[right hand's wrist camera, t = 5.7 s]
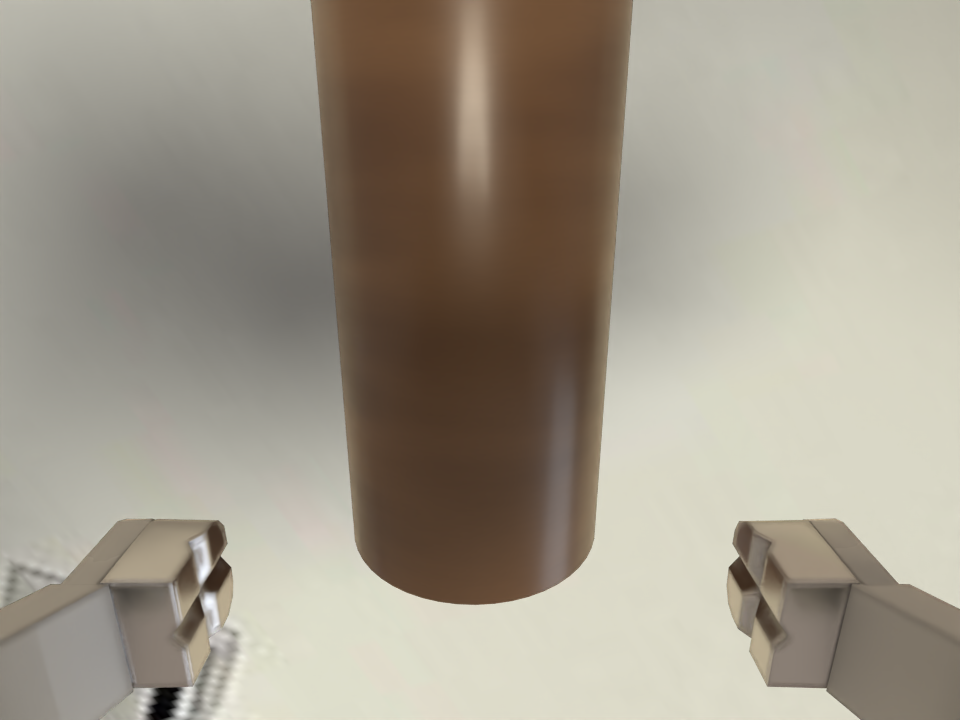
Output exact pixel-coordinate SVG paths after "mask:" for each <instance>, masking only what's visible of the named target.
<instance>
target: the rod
mask: <svg viewBox="0 0 960 720" xmlns="http://www.w3.org/2000/svg"><path fill="white" fill-rule="evenodd" d="M632 6H633V0H311V9H312V21H313V34H314V46H315V58H316V70H317V82H318V95H319V107H320V119H321V131H322V143H323V156H324V168H325V180H326V192H327V204H328V217H329V229H330V241H331V253H332V265H333V278H334V290H335V302H336V314H337V326H338V339H339V351H340V363H341V375H342V387H343V400H344V412H345V424H346V436H347V448H348V461H349V473H350V485H351V497H352V509H353V522H354V534H355V542H356V545H357V549H358V551H359V553H360V555H361V557H362V559H363V560H364V562H365V563H366V564H367V565H368V567H369V568H370V569H371V570H372V571H373V572H374V573H375V574H377V575H378V576H379V577H380V578H381V579H383V580H384V581H386V582H387V583H389V584H391V585H392V586H394V587H396V588H398V589H400V590H402V591H404V592H407V593H409V594H412V595H415V596H418V597H421V598H425V599H429V600H434V601H438V602H445V603H452V604H468V605H480V604H495V603H502V602H509V601H514V600H518V599H522V598H526V597H529V596H532V595H535V594H538V593H540V592H543V591H545V590H547V589H549V588H551V587H553V586H555V585H557V584H559V583H560V582H562V581H563V580H565V579H566V578H568V577H569V576H570V575H571V574H572V573H574V572H575V571H576V570H577V569H578V568H579V567H580V566H581V564H582V563H583V562H584V560H585V559H586V558H587V556H588V554H589V552H590V550H591V548H592V544H593V541H594V534H595V520H596V506H597V492H598V478H599V464H600V450H601V437H602V423H603V409H604V395H605V381H606V367H607V353H608V339H609V326H610V312H611V298H612V284H613V270H614V256H615V242H616V228H617V215H618V201H619V187H620V173H621V159H622V145H623V131H624V117H625V104H626V90H627V76H628V62H629V48H630V34H631V20H632Z"/></svg>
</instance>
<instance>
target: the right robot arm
mask: <svg viewBox="0 0 960 720" xmlns="http://www.w3.org/2000/svg"><path fill="white" fill-rule="evenodd" d="M226 545H227V539H226V534H225V529H224V525H223V524H222V523H221V522H220V521H219V520H179V519H156V520H155V519H124V520H121V521H118V522H117V523H116V524H115V525H114V526H113V527H112V528H111V529H110V530H109V532H108V533H107V534H106V535H105V536H104V537H103V538H102V539H101V540H100V542H99V543H98V544H97V545H96V546H95V547H94V548H93V549H92V550H91V552H90V553H89V554H88V555H87V556H86V557H85V558H84V559H83V560H82V562H81V563H80V564H79V565H78V566H77V567H76V568H75V569H74V570H73V572H72V573H71V574H70V575H69V576H68V577H67V578H66V579H65V580H64V582H63V583H62V584H50V585H48V586H46V587H44V588H42V589H40V590H38V591H36V592H34V593H32V594H30V595H28V596H26V597H24V598H22V599H20V600H18V601H16V602H14V603H12V604H10V605H8V606H6V607H4V608H1V609H0V720H100V719H101V718H102V717H103V716H104V715H106V714H107V713H108V712H109V711H110V710H112V709H113V708H114V707H115V706H116V705H118V704H119V703H120V702H121V701H122V700H124V699H125V698H126V697H127V696H128V695H130V694H131V693H132V692H133V688H157V687H192V686H193V685H194V683H195V681H196V679H197V677H198V675H199V673H200V671H201V669H202V667H203V665H204V663H205V662H206V660H207V658H208V656H209V654H210V652H211V650H210V644H209V638H210V637H211V636H212V635H214V634H215V633H217V632H218V631H220V630H221V629H222V628H223V626H224V623H225V621H226V619H227V617H228V615H229V611H230V606H231V602H232V597H233V576H232V569H231V567H230V566H229V565H228V564H227V563H226V561H225V560H224V559H223V558H222V557H221V554H222V552H223V550H224V549H225V547H226ZM733 545H734V547H735V549H736V550H737V552H738V554H739V557H738V558H737V559H736V560H735V561H734V563H733V564H732V565H731V566H730V567H729V570H728V578H727V595H728V604H729V607H730V611H731V614H732V617H733V619H734V621H735V624H736V626H737V628H738V629H739V630H740V631H742V632H743V633H745V634H746V635H748V636H749V637H750V638H751V644H750V650H749V652H750V654H751V656H752V658H753V660H754V661H755V663H756V665H757V667H758V669H759V671H760V673H761V675H762V677H763V679H764V681H765V683H766V685H767V687H802V688H827V690H826V691H827V692H828V693H829V694H831V695H832V696H833V697H834V698H835V699H837V700H838V701H839V702H840V703H841V704H843V705H844V706H845V707H846V708H847V709H849V710H850V711H851V712H852V713H853V714H855V715H856V716H857V717H858V718H859V719H861V720H960V609H958V608H956V607H954V606H952V605H950V604H948V603H946V602H944V601H942V600H940V599H938V598H936V597H934V596H932V595H930V594H928V593H926V592H924V591H922V590H920V589H918V588H916V587H914V586H912V585H910V584H898V583H897V582H896V580H895V579H894V578H893V577H892V576H891V575H890V574H889V573H888V572H887V570H886V569H885V568H884V567H883V566H882V565H881V564H880V563H879V562H878V560H877V559H876V558H875V557H874V556H873V555H872V554H871V553H870V552H869V550H868V549H867V548H866V547H865V546H864V545H863V544H862V543H861V542H860V540H859V539H858V538H857V537H856V536H855V535H854V534H853V533H852V532H851V530H850V529H849V528H848V527H847V526H846V525H845V524H844V523H843V522H842V521H840V520H837V519H835V518H833V519H804V520H780V521H739V522H738V524H737V527H736V529H735V532H734V538H733Z"/></svg>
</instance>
